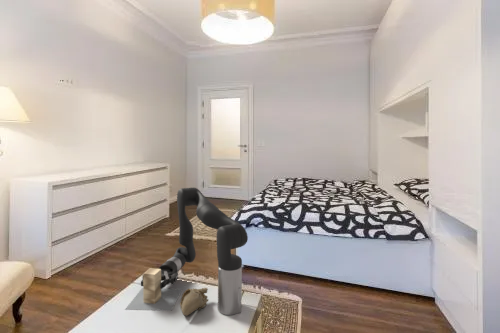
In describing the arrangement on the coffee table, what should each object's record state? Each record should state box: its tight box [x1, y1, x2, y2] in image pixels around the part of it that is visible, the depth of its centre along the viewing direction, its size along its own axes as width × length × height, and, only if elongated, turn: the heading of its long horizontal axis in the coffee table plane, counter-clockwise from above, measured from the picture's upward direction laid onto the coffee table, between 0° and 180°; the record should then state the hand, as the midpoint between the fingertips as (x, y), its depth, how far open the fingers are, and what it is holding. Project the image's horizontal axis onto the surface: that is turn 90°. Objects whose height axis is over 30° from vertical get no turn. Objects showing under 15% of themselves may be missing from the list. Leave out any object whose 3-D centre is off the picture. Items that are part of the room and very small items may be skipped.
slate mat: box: [124, 287, 183, 312], centre depth 109 cm, size 18×16×1 cm
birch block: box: [142, 267, 162, 304], centre depth 108 cm, size 5×5×12 cm
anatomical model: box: [179, 287, 209, 317], centre depth 103 cm, size 7×11×15 cm
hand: (151, 285), depth 107 cm, fingers open, 8 cm apart
